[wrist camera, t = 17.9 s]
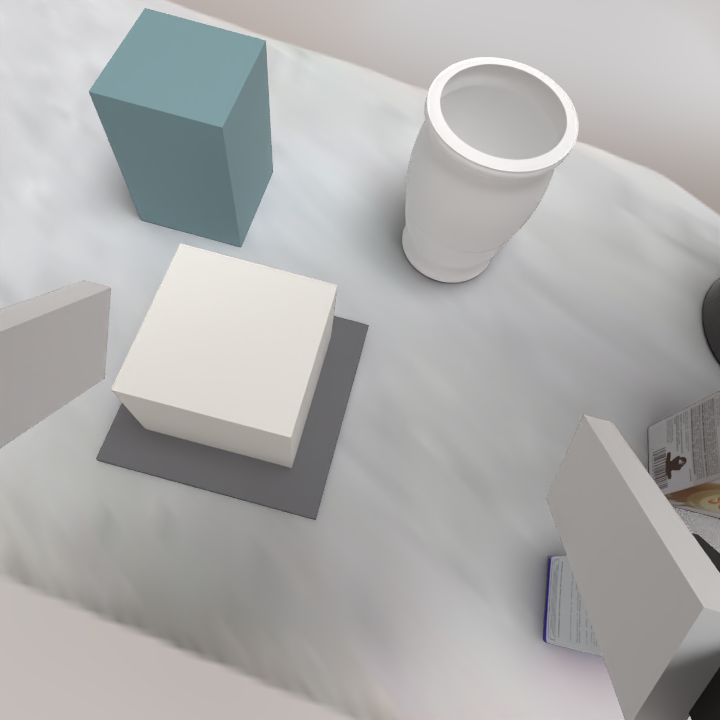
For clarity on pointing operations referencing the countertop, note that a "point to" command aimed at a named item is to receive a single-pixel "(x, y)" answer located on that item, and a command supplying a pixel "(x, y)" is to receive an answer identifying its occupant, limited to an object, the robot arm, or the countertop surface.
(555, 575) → the supplement box
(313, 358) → the lid
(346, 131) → the countertop surface
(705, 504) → the coffee box
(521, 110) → the jar
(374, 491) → the countertop surface
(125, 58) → the base
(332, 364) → the mat
